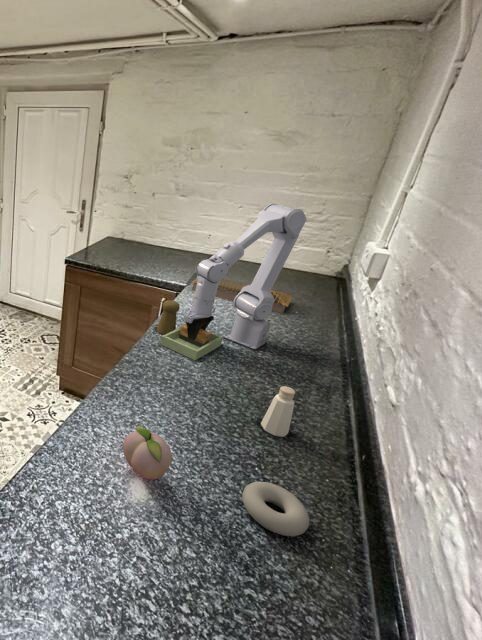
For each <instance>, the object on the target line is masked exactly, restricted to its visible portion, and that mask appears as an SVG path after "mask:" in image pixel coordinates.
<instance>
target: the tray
mask: <svg viewBox="0 0 482 640" xmlns="http://www.w3.org/2000/svg"><path fill="white" fill-rule="evenodd" d="M180 331H181V326H180V327H178V328H176V330H174V331H172V332H170V333H167V334H165V335H164V334H162V336H161V340H160V345H161V346H163V347H165V348H168V349H169V350H172V351H173V352H176V353H178V354H180V355H182V356H184V357H187V358H189V359H191V360H192V361H197V360H199V359H200V358H202V357H204V356H205V355H207V354H209V353H211V352H212V351H214V350H216V349H218V348H219V347H221V346H222V342H223V339H224V337H223V336H221V335H218V334H216V333H213V332H211V337H210V341H209V343H208V344H206V345H204V346H202V347H198V346H196V345H194V344H191V343H189V342H187V341H185V340H182V339H180V338H179V336H180Z"/></svg>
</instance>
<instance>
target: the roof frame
mask: <svg viewBox="0 0 482 640" xmlns="http://www.w3.org/2000/svg"><path fill="white" fill-rule="evenodd" d="M190 283H191V284H193V285H192V291H194V292H195V290H196V286H197V277H196V278H195V279H194V280H193V281H191V282H190ZM248 285H249V284H247V283H242V282H239V281H235V280H229V279H226V278H224V279H223V280H221V281H219V284H218V288H217V292H216V296H215V297H216V298H217V297H218V298H222V299H224V300H225V299H226V300H229V301H233V302H234V299H235V297H236V296H237V295H238V294H239V293H240V292H241V290H242V288H243V287H245V286H248ZM270 291H271V294H272V296H273V297H274V300H275V301H274V303H273V305H272V311H271V312H276V313H280V314H284V312H285V310H286V308H289V305H290V302H291V301H292V299H293V297H294V295H292V294H288V293H285V292H281V291H277V290H274V289H271V290H270ZM254 296H255V295H254ZM256 297H257V296H256Z"/></svg>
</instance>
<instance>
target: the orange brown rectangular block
mask: <svg viewBox="0 0 482 640" xmlns="http://www.w3.org/2000/svg"><path fill="white" fill-rule="evenodd" d="M180 327H181V331H180V336H179V338H180V339H182V340H185V341H187V342H189V343H191V344H194V345H196V346H198V347H202V346H204V345H206V344H208V343H209V341H210V337H211V333H212V332H211V331H208V330H207V329H206V330H203V329H201V328H200V330H199V332H198V335H197V337H196V339H195V340H192V339H189V338H188V331H187V325H186V323H184V324H182V325H181V326H180Z"/></svg>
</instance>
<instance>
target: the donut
mask: <svg viewBox="0 0 482 640" xmlns="http://www.w3.org/2000/svg"><path fill="white" fill-rule="evenodd" d="M241 497H242V503H243V506H244V508H245V509H246V511H247V513H248V514H249V516H251V518H253V520H254V521H255V522H256V523H258V524H259V525H261V526H262V527H263V528H265V529H266V530H269V531H270V532H272V533H275V534H278V535H281V536H284V537H296V536H300V535H303V534H304V533H305V532H306V531H307V530H308V529H309V527H310V516H309V512H308V511H307V509H306V507H305V506H304V505H303V502H301V500H300V499H298V498H297V496H295V495H294V494H293V493H292V492H290V491H289V490H287V489H286V488H284V487H282V486H279V485H278V484H274V483H271V482H267V481H253V482H251V483H249V484H247V485H246V486H245V487H244V489H243V492H242V495H241ZM266 503H270V504H273V505H275V506H277V507H278V508H280V509H281V510H282V511H283V512H278V511H276V510H274V509H273V508H271V507H270V506H269V505H267V504H266Z"/></svg>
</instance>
